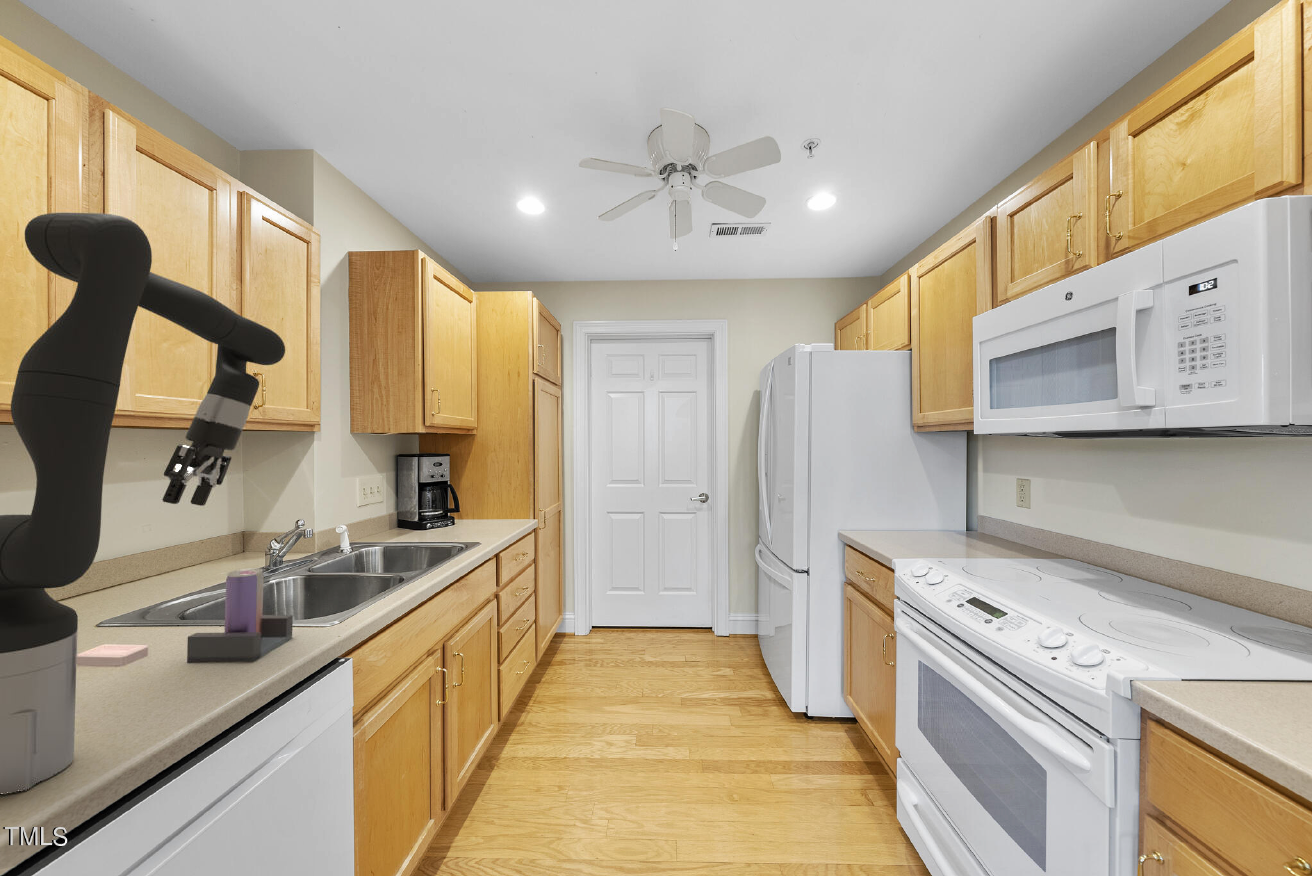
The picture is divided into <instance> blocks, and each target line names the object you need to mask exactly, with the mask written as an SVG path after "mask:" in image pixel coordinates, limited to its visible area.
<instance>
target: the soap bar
mask: <svg viewBox="0 0 1312 876" xmlns="http://www.w3.org/2000/svg"><path fill="white" fill-rule="evenodd" d="M147 655H148V656H149V645H147V644H143V645H142V644H111V643H110V644H108V643H107V644H106V643H105V644H101V645H98V646H95V647H94V648H91V649H88V650H85V651H82V652H79V653H78V654H77V662H76V665H78V666H79V665H81V667H83V666H82V665H84V666H85V667H86V666H87V667H123V665H124V666H126V665H129V664H131V663H134V662H136V661H138V660H141V659H143V658H145V657H147ZM144 656H145V657H144ZM140 658H141V659H140ZM90 665H91V666H90ZM78 666H77V667H78ZM79 667H80V666H79Z"/></svg>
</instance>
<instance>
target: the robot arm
mask: <svg viewBox="0 0 1312 876" xmlns="http://www.w3.org/2000/svg"><path fill="white" fill-rule="evenodd" d="M24 242H25V245H26V247H27V250H28V251H29V253H30V254H31V256H32V257H33V258H34V259H35V261H36V262H37V263H38V264H40V265H41V266H42V267H43V268H45V269H46V270H48V271H49V272H51V273H53V274H55V275H57V276H59V277H62V278H64V279H66V280H69V281H72V282H75V283H76V284H77V286H76V289H75V291H74V295H73V297H72V299H71V301H70V303H69V305H68V306H67V308H66V309H65V310H64V312H63V313H62V314H61V315H60V316H59V317H58V318H57V320H56V321H54V323H53V324H51V326H50V327H49V328H47V330H45V332H43V334H42V335H41V336H39V337H38V339H37V340H36V341H35V342H34V343H33V344H32V345H31V346H30V348H29V349H28V351H26V352H25V354H24V355H23V357H22V359H21V361H20V363H19V366H18V370H17V374H16V377H15V378H16V379H15V382H14V387H13V391H12V395H11V396H12V397H11V401H10V414H11V419H12V422H13V424H14V427H15V429H16V431H17V434H18V435H19V437H20V439H21V440H22V443H23V445H24V447H25V449H26V451H27V452H28V455H29V457H30V458H31V461H32V462H33V466H34V470H35V476H36V477H35V478H36V487H35V495H34V501H33V505H32V510H31V514H1V515H0V794H1V793H3V794H4V793H7V792H8V793H9V792H15V791H18V790H19V791H20V790H25V791H28V790H29V788H30V789H31V788H32V787H34V785H36V783H37V784H39V783H41V782H43V781H45V780H47V779H49V778H51V777H53V776H55V775H57V774H59V773H60V772H62V771H63V770H64V769H67V767H68V766H70V765H71V764H72V762H73V761H74V759H75V736H76V735H75V732H76V730H75V729H76V727H75V726H76V725H75V724H76V721H75V720H76V695H77V694H76V689H77V688H76V687H77V666H76V662H77V655H78V654H77V653H78V628H79V627H78V625H79V621H78V619H79V618H78V617H79V616H78V613H77V611H76V610H75V609H74V608H73V607H70V606H68V605H65V604H63V603H60V602H59V601H57V600H55V599H54V598H53V597H51V596H50V595H49V594H48V592H47V591H46V589H54V588H55V589H56V588H63V587H65V586H69V585H71V584H73V583H75V582H77V581H78V580H79V579H81V578H82V577H83V576H84V575H85V574H86V573H87V571H88V570H89V569H90V568H91V566H92V565H93V563H94V560H95V559H96V555H97V553H98V549H99V544H100V538H101V528H102V527H101V526H102V506H103V505H102V504H103V503H102V502H103V501H102V500H103V486H104V485H103V483H104V475H105V474H104V473H105V467H106V460H107V454H108V446H109V440H110V435H111V429H112V424H113V421H114V418H115V413H116V408H117V403H118V398H119V393H120V386H121V381H122V374H123V373H122V372H123V367H124V362H125V358H126V352H127V348H128V345H129V341H130V336H131V331H132V328H133V327H132V326H133V324H134V320H135V317H136V314H137V311H138V308H141V309H144V310H146V311H148V312H150V313H152V314H155V315H157V316H160V317H162V318H164V319H166V320H168V321H170V322H172V323H174V324H176V325H178V326H179V327H181V328H184V329H185V330H186V331H189V332H190V333H192V334H194V335H195V336H198V337H200V338H201V339H203V340H206V341H207V342H209V343H212V344H215V345H217V350H216V361H215V373H214V377H213V378H212V381H211V384H210V386H209V388H208V390H207V392H206V394H205V396H204V398H203V399H202V401H201V402H200V404H199V406H198V408H197V409H196V413H195V414H194V417H193V419H192V421H191V424H190V426H189V428H188V431H187V432H186V435H185V439H186V440H187V441H189V442H192V443H191V445H186V444H180V443H179V444H178V445H177V446H176V448H175V450H174V452H173V454H172V456H171V458H170V460H169V462H168V464H167V466H166V468H165V470H164V473H163V476H164V477H167V478H168V481H169V484H168V486H167V488H166V491H165V492H164V495H163V497H162V502H163V503H167V504H173V505H178V504H179V503H180V501H181V499H182V497H183V494H184V492H185V490H186V487H187V483H189V481H190V480H191V479H192V478H193V477H198V484H197V485H196V488H195V489H194V493H193V495H192V497H191V500H190V504H191V505H197V506H201V507H202V506H203V507H204V506H205V505H206V504H207V501H208V499H209V497H210V495H211V492H212V491H213V488H216V486H217V485H218V486H221V485H222V484H223V482H224V479H225V477H226V474H227V472H228V468H230V467H229V466H230V463H231V461H232V456H230V455H226V454H224V453H225V450H227V451H234V450H235V449H236V446H237V445H238V442H239V439H240V436H241V435H242V432H243V429H244V427H245V425H246V423H247V421H248V418H249V414H250V410H251V407H252V404H253V403H254V400H255V398H256V396H257V393H258V391H259V387H260V381H259V379H258V378H257V377H256V376H254V375H253V374H249V373H248V372H247V364H248V363H252V364H255V365H260V366H273V365H275V364H278V363H279V362H281V361H282V360H283V358H284V356H285V355H286V346H285V343H284V341H283V339H282V338H281V336H280V335H278V334H277V333H276V332H275V331H273V330H272V329H270V328H269V327H266V326H264V325H262V324H259V323H258V322H255V321H254V320H251V319H249V318H247V317H245V316H243V315H239V314H238V313H236V312H235V311H233V310H232V309H231V308H230V307H228V306H226V305H225V304H223V303H222V302H220V301H219V300H217V299H216V298H214V297H212V296H210V295H209V294H206V293H204V292H203V291H200V290H198V289H196V288H194V287H190V286H188V285H186V284H182V283H180V282H177V281H175V280H172V279H170V278H166V277H163V276H162V275H159V274H158V273H157V274H155V272H151V269H152V263H153V255H152V253H153V252H152V246H151V243H150V241H149V238H148V237H147V235H146V233H145V231H144V230H143V229H142V228H141V227H140V225H138V224H137V223H136V222H134V221H133V220H131V219H130V218H127V217H124V216H121V215H117V214H111V213H100V212H97V213H95V212H50V213H43V214H39V215H38V216H36V217H33V218H32V219H31V220H30V221H28V223H27V224H26V226H25V230H24ZM174 469H175V470H174ZM58 772H59V773H58ZM54 774H55V775H54ZM40 781H41V782H40ZM38 782H39V783H38ZM27 789H28V790H27ZM15 793H16V792H15ZM4 795H5V794H4Z"/></svg>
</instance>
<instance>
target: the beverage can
mask: <svg viewBox="0 0 1312 876" xmlns="http://www.w3.org/2000/svg"><path fill="white" fill-rule="evenodd" d="M226 576H227V577H226V579H225V600H224V601H225V603H224V604H225V605H224V609H225V610H224V632H223V633H244V632H261V639H262V615H263V609H264V608H263V605H264V604H263V603H264V602H263V601H264V573H263V569H262V568H257V567H256V568H255V567H253V568H242V569H237V570H233V571H229V572H228V573H227V575H226Z"/></svg>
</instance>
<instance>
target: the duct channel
mask: <svg viewBox="0 0 1312 876" xmlns="http://www.w3.org/2000/svg"><path fill="white" fill-rule="evenodd" d="M293 617H294V616H293V614H279V615H278V614H262V639H261V632H244V633H224V632H195V633H193V634H191V635H189V636H187V645H186V647H187V648H186V650H187V652H186V656H187V657H186V663H187V664H196V663H197V664H201V663H204V664H205V663H206V664H207V663H208V664H209V663H211V664H212V663H213V664H215V663H216V664H217V663H255V662H256V661H258V660H259V659H261V658H262V657H264V656H265V655H267V654H269V653H270V652H272V651H274V650H275V649H277V648H278V647H280V646H282V645H283V644H285V643H287V642H288V641H290V640H292V639H293V623H294V622H293Z"/></svg>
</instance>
